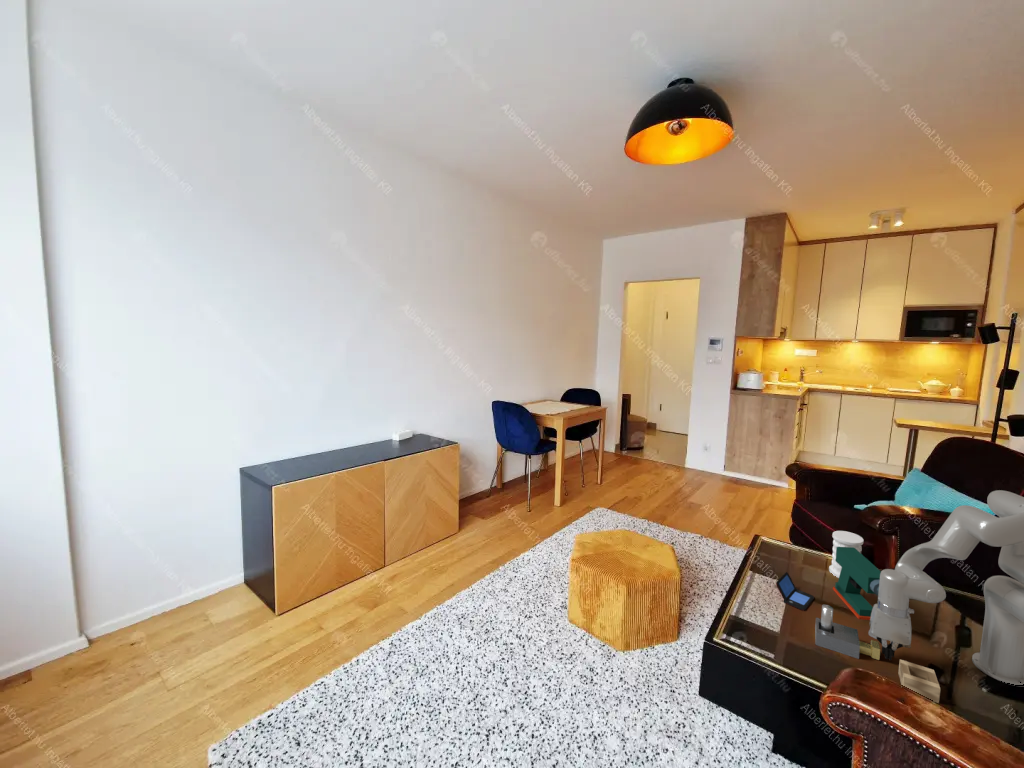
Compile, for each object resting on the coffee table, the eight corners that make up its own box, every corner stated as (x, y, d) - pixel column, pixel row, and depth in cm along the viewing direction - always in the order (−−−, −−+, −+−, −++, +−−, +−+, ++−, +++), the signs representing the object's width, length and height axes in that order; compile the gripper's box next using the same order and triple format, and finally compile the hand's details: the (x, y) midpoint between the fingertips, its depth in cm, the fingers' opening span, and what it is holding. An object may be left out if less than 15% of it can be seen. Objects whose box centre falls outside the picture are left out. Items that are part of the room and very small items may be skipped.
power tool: (904, 647, 147) (909, 595, 144) (881, 645, 148) (886, 594, 145) (851, 590, 178) (854, 546, 175) (832, 589, 179) (835, 545, 176)
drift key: (877, 652, 145) (878, 641, 145) (879, 660, 142) (880, 649, 141) (834, 638, 152) (834, 628, 151) (834, 645, 149) (835, 635, 148)
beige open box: (932, 683, 132) (933, 669, 132) (938, 703, 126) (940, 688, 125) (898, 672, 137) (899, 659, 136) (902, 690, 131) (904, 676, 130)
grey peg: (830, 639, 152) (832, 606, 150) (831, 644, 150) (833, 611, 148) (819, 635, 154) (821, 603, 152) (820, 641, 152) (822, 608, 150)
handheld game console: (804, 612, 167) (805, 595, 166) (774, 599, 175) (775, 582, 174) (815, 598, 174) (816, 582, 173) (785, 586, 183) (786, 570, 182)
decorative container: (842, 582, 183) (845, 544, 181) (822, 567, 195) (825, 530, 192) (868, 581, 183) (871, 542, 181) (847, 565, 195) (850, 529, 192)
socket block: (856, 642, 150) (857, 629, 150) (858, 658, 143) (859, 645, 142) (815, 629, 157) (815, 617, 157) (815, 644, 150) (816, 632, 149)
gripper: (920, 609, 138) (915, 658, 141) (862, 593, 147) (858, 640, 149) (926, 622, 132) (920, 674, 135) (864, 606, 141) (860, 655, 143)
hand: (887, 656), depth 142 cm, fingers closed
